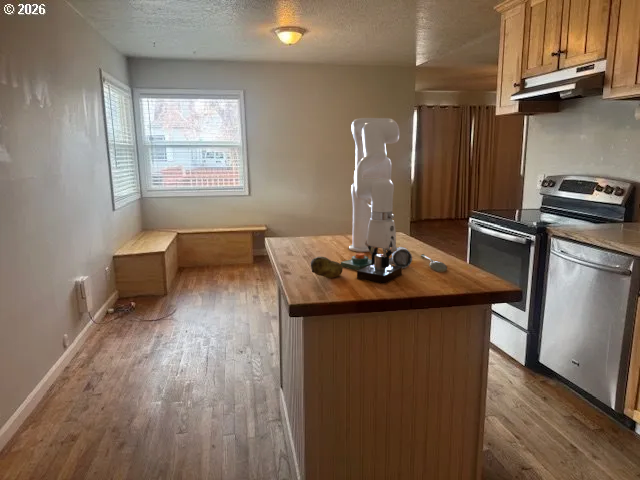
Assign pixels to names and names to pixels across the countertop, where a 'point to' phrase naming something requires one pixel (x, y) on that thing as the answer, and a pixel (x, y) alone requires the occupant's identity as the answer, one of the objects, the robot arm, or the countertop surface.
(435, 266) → the soupspoon
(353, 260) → the block
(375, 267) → the knob
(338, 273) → the potato
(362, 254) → the button
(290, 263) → the countertop surface
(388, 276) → the hob console
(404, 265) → the ceramic mug
